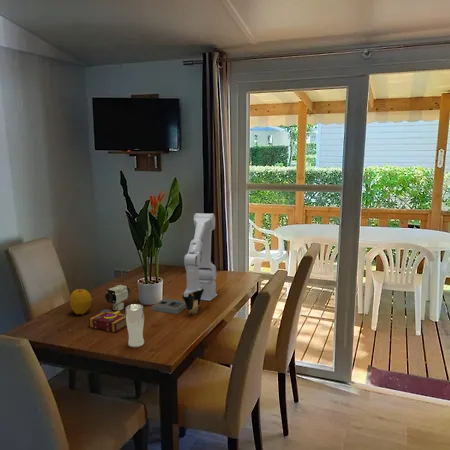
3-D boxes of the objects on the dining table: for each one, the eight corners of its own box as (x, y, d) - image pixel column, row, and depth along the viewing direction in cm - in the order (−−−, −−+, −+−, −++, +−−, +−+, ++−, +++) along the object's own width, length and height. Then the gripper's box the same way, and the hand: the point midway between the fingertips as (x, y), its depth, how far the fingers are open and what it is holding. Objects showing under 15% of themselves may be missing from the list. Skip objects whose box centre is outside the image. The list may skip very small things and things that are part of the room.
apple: (96, 310, 191) (94, 286, 189) (84, 318, 181) (82, 293, 179) (78, 308, 193) (77, 285, 191) (66, 316, 184) (64, 291, 182)
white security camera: (105, 312, 187) (104, 288, 185) (124, 304, 197) (122, 281, 195) (114, 314, 185) (112, 290, 183) (132, 306, 194) (130, 283, 192)
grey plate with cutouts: (164, 301, 201) (164, 298, 200) (189, 305, 195) (189, 301, 195) (151, 310, 190) (151, 306, 189) (177, 314, 184) (177, 310, 184)
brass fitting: (191, 310, 189) (191, 298, 188) (199, 311, 187) (199, 299, 186) (187, 313, 185) (187, 300, 184) (195, 314, 184) (195, 302, 183)
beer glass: (138, 349, 151) (136, 311, 148) (123, 346, 153) (121, 309, 151) (148, 341, 157) (147, 305, 155) (133, 338, 160) (131, 303, 157)
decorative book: (116, 334, 165) (115, 322, 164) (86, 327, 171) (85, 316, 171) (133, 323, 175) (132, 312, 174) (104, 318, 182) (103, 307, 181)
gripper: (193, 284, 176) (194, 313, 178) (207, 275, 189) (207, 302, 191) (179, 282, 178) (180, 311, 180) (194, 274, 192) (194, 301, 194)
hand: (193, 306), depth 186 cm, fingers open, 7 cm apart
